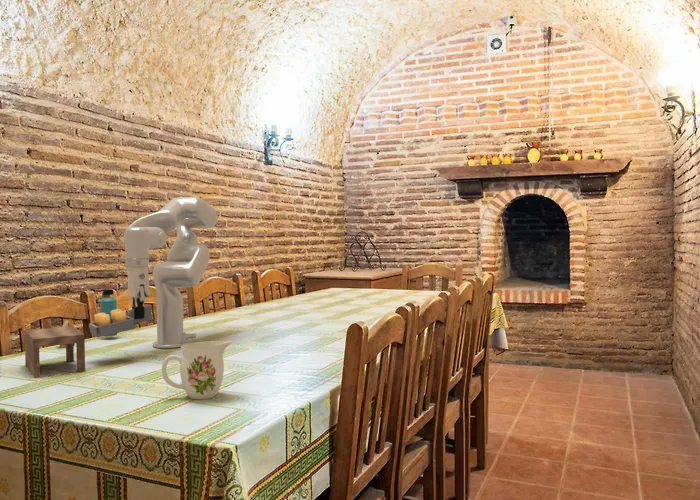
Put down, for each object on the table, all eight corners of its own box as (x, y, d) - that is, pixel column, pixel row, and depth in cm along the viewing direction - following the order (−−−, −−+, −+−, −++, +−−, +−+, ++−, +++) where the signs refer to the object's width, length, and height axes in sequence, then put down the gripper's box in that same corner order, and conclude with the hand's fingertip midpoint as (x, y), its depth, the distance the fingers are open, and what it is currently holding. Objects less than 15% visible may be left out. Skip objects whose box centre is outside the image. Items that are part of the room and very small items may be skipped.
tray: (147, 319, 210) (144, 302, 210) (157, 322, 201) (154, 305, 201) (90, 332, 200) (87, 315, 199) (97, 337, 191) (94, 319, 190)
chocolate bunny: (52, 347, 224) (51, 320, 224) (70, 343, 231) (70, 318, 231) (62, 348, 222) (61, 321, 221) (80, 345, 229) (79, 318, 228)
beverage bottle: (111, 340, 238) (111, 290, 237) (97, 339, 239) (95, 289, 239) (121, 337, 244) (120, 288, 244) (106, 337, 246) (105, 288, 245)
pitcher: (163, 393, 158) (162, 341, 158) (232, 388, 163) (231, 337, 163) (161, 404, 148) (160, 349, 147) (235, 398, 152) (234, 345, 152)
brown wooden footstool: (72, 360, 201) (72, 326, 201) (85, 371, 184) (84, 334, 184) (25, 365, 193) (24, 330, 193) (34, 377, 176) (33, 339, 176)
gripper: (155, 264, 198) (156, 320, 199) (142, 262, 211) (142, 314, 212) (132, 265, 194) (133, 322, 194) (119, 263, 207) (120, 316, 207)
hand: (138, 317), depth 203 cm, fingers closed on tray
